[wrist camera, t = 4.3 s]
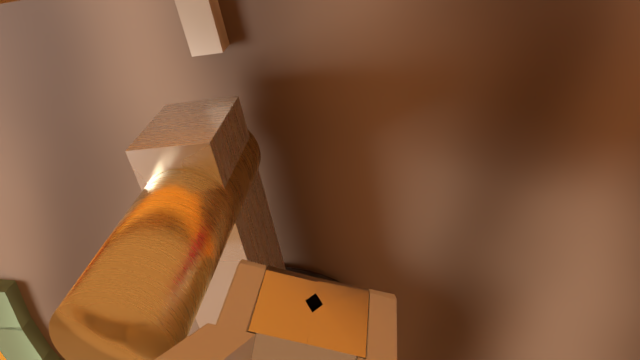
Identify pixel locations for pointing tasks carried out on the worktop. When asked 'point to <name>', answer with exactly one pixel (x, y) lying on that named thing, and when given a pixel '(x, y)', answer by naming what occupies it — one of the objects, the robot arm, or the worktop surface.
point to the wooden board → (351, 155)
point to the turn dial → (173, 238)
